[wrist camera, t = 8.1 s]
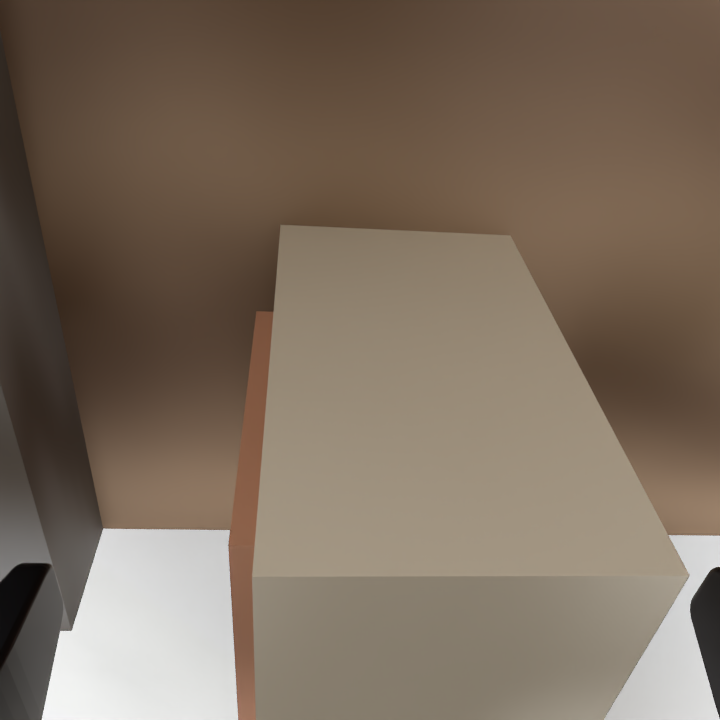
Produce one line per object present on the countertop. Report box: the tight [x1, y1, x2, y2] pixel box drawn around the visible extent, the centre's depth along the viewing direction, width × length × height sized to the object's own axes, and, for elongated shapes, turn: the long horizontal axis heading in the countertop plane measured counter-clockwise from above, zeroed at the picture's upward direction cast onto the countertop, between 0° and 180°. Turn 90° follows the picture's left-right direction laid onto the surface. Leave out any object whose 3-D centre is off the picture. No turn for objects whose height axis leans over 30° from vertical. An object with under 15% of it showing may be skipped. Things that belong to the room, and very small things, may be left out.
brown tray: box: [0, 0, 720, 631], centre depth 10 cm, size 22×17×4 cm
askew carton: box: [228, 225, 689, 720], centre depth 11 cm, size 4×6×7 cm
